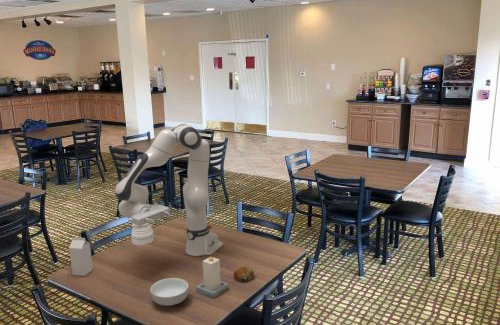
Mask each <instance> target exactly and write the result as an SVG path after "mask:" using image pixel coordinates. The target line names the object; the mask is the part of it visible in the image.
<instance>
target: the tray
mask: <svg viewBox="0 0 500 325" xmlns="http://www.w3.org/2000/svg"><path fill="white" fill-rule="evenodd" d="M220 281H221V280H220ZM195 289H196V292H197V293H199V294H201V295H204V296H206V297H209V298H211V299H216V298H217V297H218V296H219V295H221V294H222V293H224V292H226V291H227V290H228V289H229V283H227V282H225V281H221V287H220V288H218V289H217V290H215V291H214V292H212V291H210V290H207V289H204V281H203V282H201V283H200V284H199V285H197V286H196V288H195Z"/></svg>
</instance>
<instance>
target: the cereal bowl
mask: <svg viewBox="0 0 500 325" xmlns="http://www.w3.org/2000/svg"><path fill="white" fill-rule="evenodd" d="M149 290H150V296H151V300H153V302H154V303H156V304H157V305H160V306H167V307H171V306H175V305H178V304H180V303H182V302H183V301H184V300H186V298H187V297H188V295H189V284H188V282H187V280H185V279H182V278H178V277H176V278H175V277H169V278H164V279H163V278H162V279H160V280H158V281H156V282H154V283H153V284H152V285H151V287H150V288H149Z"/></svg>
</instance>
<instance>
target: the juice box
mask: <svg viewBox="0 0 500 325" xmlns="http://www.w3.org/2000/svg"><path fill="white" fill-rule="evenodd" d="M202 276H203V278H202V279H203V282H204V289H207V290H210V291H212V292H214V291H215V290H217V289H218V288H220V287H221V264H220V259H219V258H216V257H213V256H209V257H208V258H206V259H204V260H202Z"/></svg>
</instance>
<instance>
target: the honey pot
mask: <svg viewBox="0 0 500 325" xmlns="http://www.w3.org/2000/svg"><path fill="white" fill-rule="evenodd" d="M131 223H132V222H131ZM131 225H132V230H131V232H130V233H131V234H130V235H131V236H130V237H131V243H132V245H136V246H144V245H145V244H146V245H149V244H152V243H153V242H154V241H155V239H154V230H153V229H152V225H151V223H146V224H144V225H141V226H137V225H135V224H133V223H132V224H131ZM152 241H153V242H152ZM148 243H149V244H148Z"/></svg>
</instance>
